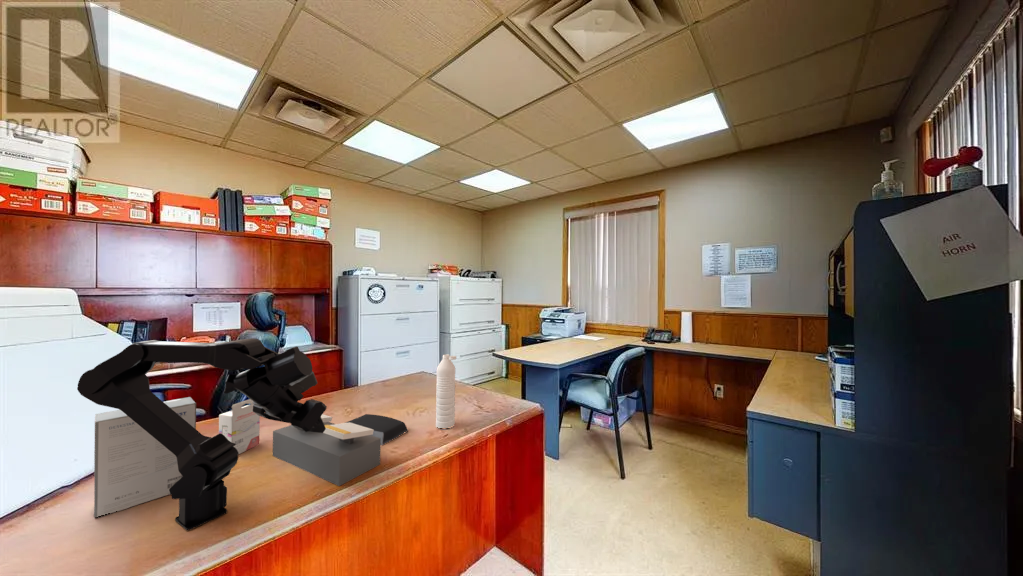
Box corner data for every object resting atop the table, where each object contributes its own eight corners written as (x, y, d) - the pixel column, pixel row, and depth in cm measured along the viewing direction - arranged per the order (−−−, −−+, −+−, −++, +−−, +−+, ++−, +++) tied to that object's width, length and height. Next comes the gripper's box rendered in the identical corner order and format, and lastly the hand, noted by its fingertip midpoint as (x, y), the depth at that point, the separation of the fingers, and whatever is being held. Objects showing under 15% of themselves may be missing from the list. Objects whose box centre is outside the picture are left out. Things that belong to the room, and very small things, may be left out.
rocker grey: (300, 425, 92) (302, 419, 92) (280, 418, 97) (282, 412, 97) (331, 421, 100) (332, 416, 100) (311, 415, 105) (312, 410, 105)
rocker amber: (342, 439, 83) (344, 433, 84) (318, 431, 88) (319, 425, 88) (372, 434, 91) (373, 428, 91) (348, 426, 96) (349, 421, 96)
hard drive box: (190, 475, 85) (192, 396, 86) (196, 487, 81) (198, 402, 81) (92, 505, 73) (95, 412, 74) (92, 520, 69) (94, 421, 69)
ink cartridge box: (246, 443, 104) (247, 394, 104) (259, 444, 103) (261, 396, 103) (217, 456, 95) (218, 403, 96) (231, 458, 94) (232, 405, 95)
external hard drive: (380, 448, 102) (380, 434, 102) (335, 436, 110) (335, 423, 111) (409, 432, 114) (409, 420, 114) (367, 422, 122) (367, 411, 122)
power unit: (339, 486, 81) (339, 448, 82) (272, 455, 96) (273, 423, 96) (380, 464, 92) (380, 430, 92) (314, 439, 106) (315, 411, 107)
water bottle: (432, 425, 119) (433, 354, 119) (448, 421, 123) (449, 352, 124) (445, 433, 112) (446, 358, 113) (461, 428, 117) (462, 355, 117)
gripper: (321, 366, 74) (359, 404, 84) (270, 355, 82) (310, 391, 92) (281, 412, 67) (328, 448, 77) (230, 395, 75) (278, 430, 85)
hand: (311, 426), depth 83 cm, fingers open, 9 cm apart
